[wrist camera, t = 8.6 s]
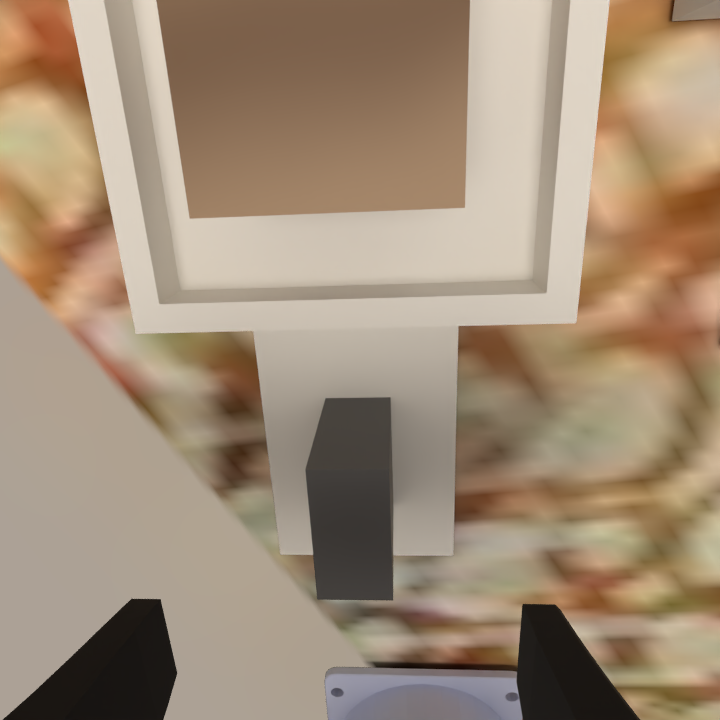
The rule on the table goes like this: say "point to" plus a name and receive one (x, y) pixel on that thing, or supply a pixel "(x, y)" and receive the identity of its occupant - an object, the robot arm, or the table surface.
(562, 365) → the table surface
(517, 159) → the white tray
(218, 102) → the walnut cube
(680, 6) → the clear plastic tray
